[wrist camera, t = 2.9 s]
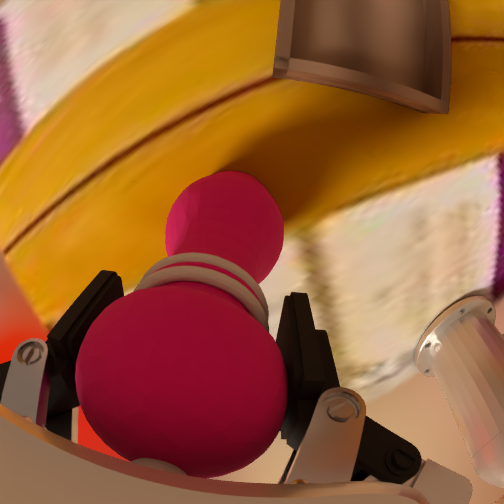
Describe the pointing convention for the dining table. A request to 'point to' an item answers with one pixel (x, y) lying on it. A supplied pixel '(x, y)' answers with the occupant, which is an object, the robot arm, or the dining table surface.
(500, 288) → the dining table surface
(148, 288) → the pepper mill
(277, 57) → the caddy
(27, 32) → the dining table surface
